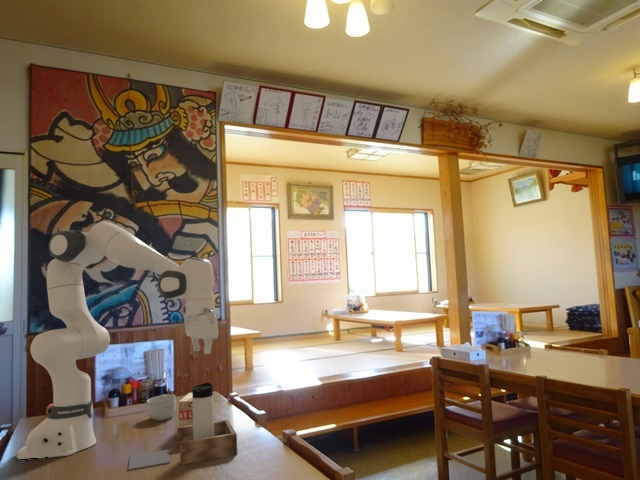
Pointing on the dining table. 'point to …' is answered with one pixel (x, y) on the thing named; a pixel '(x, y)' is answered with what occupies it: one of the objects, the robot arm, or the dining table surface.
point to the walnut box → (207, 443)
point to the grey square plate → (148, 460)
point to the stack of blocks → (186, 411)
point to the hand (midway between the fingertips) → (201, 352)
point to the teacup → (161, 407)
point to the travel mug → (203, 411)
